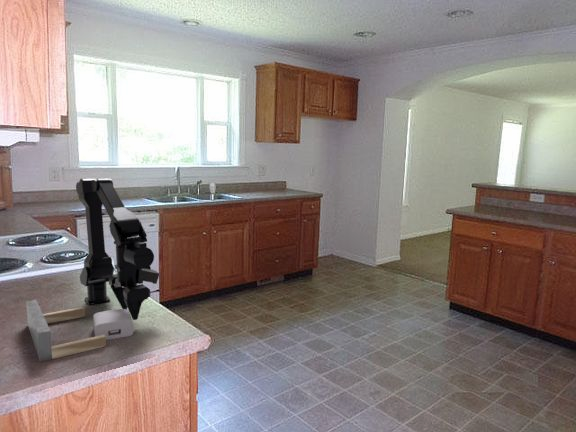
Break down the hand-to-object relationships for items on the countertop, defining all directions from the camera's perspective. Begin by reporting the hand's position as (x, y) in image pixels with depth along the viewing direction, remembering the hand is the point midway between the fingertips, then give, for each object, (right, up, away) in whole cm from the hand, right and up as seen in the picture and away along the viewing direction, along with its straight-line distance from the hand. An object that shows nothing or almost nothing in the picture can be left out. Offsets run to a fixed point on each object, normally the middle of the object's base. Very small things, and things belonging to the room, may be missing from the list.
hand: (129, 314), depth 122 cm
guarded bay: (-14, -3, -9) cm, 17 cm away
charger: (-3, -3, -4) cm, 6 cm away
